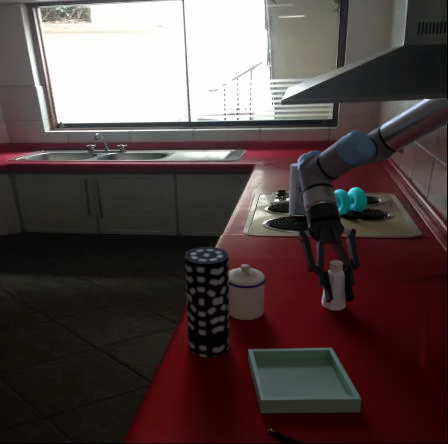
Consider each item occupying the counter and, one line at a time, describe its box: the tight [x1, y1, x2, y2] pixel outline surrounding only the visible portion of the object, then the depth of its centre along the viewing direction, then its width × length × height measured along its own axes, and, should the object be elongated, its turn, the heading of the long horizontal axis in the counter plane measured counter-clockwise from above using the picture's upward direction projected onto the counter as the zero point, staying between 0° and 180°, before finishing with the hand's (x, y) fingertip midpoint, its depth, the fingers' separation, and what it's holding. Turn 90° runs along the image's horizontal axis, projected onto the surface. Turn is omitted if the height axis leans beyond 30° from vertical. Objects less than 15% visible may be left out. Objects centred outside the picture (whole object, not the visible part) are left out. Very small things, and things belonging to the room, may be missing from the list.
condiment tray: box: [247, 347, 362, 414], centre depth 73 cm, size 16×14×3 cm
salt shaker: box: [320, 259, 347, 311], centre depth 96 cm, size 5×5×11 cm
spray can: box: [288, 162, 306, 216], centre depth 161 cm, size 6×6×20 cm
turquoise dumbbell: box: [334, 187, 368, 216], centre depth 161 cm, size 10×10×10 cm
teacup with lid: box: [229, 263, 267, 321], centre depth 96 cm, size 12×9×12 cm
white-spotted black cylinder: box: [184, 246, 230, 359], centre depth 82 cm, size 8×8×20 cm
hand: (340, 300), depth 93 cm, fingers closed on salt shaker, 4 cm apart
